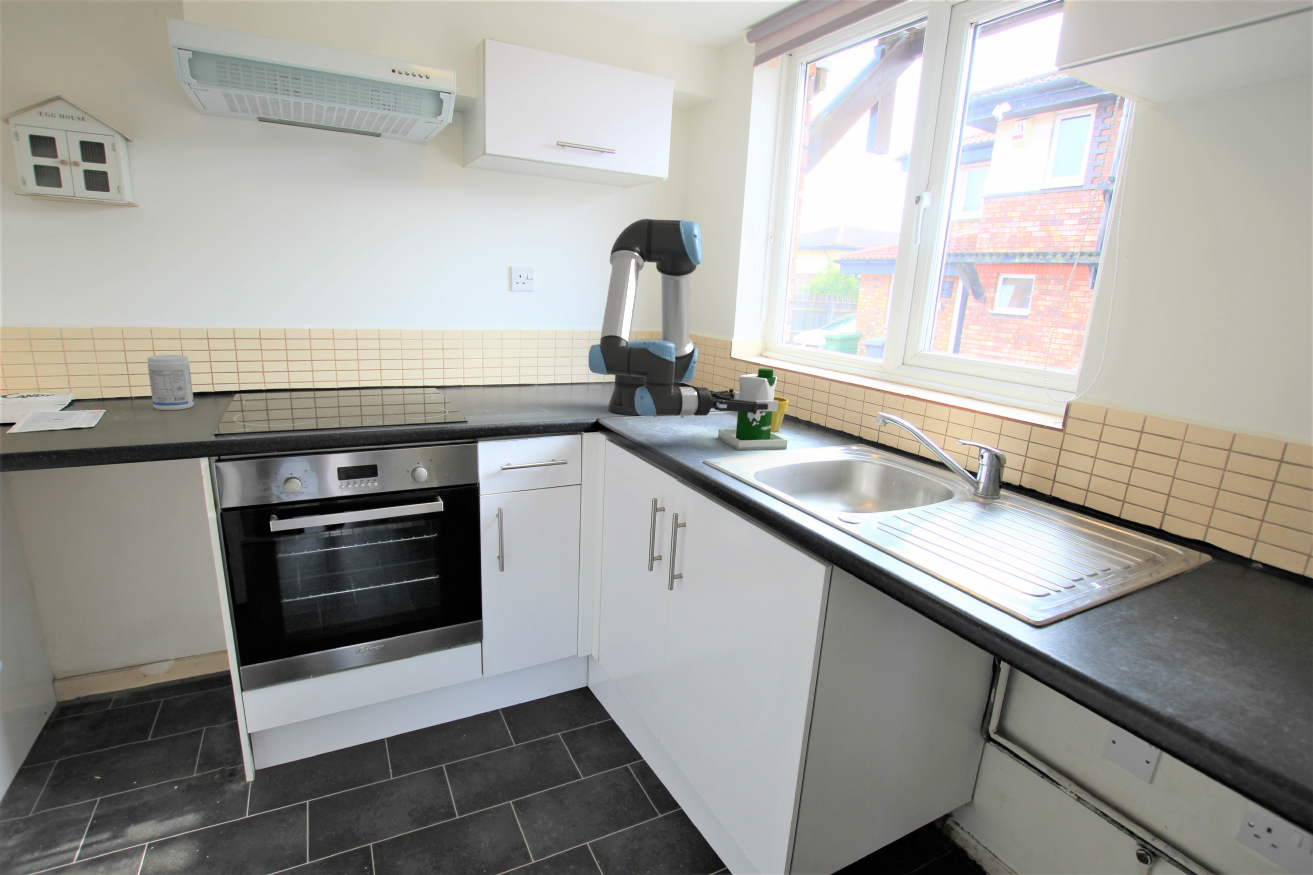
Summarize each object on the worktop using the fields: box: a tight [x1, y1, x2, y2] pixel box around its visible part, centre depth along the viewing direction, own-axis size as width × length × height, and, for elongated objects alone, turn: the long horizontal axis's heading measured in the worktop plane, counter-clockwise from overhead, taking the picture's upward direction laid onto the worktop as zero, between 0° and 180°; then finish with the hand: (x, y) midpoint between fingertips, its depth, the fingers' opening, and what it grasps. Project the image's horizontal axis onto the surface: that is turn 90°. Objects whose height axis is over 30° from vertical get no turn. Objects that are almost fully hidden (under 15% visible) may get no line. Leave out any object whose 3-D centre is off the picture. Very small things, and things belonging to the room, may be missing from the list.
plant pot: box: [771, 395, 789, 433], centre depth 198 cm, size 10×10×10 cm
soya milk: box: [735, 368, 778, 441], centre depth 178 cm, size 9×9×20 cm
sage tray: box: [717, 428, 788, 451], centre depth 181 cm, size 14×14×2 cm
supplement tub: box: [146, 354, 195, 411], centre depth 186 cm, size 10×10×15 cm
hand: (766, 401), depth 179 cm, fingers open, 13 cm apart
